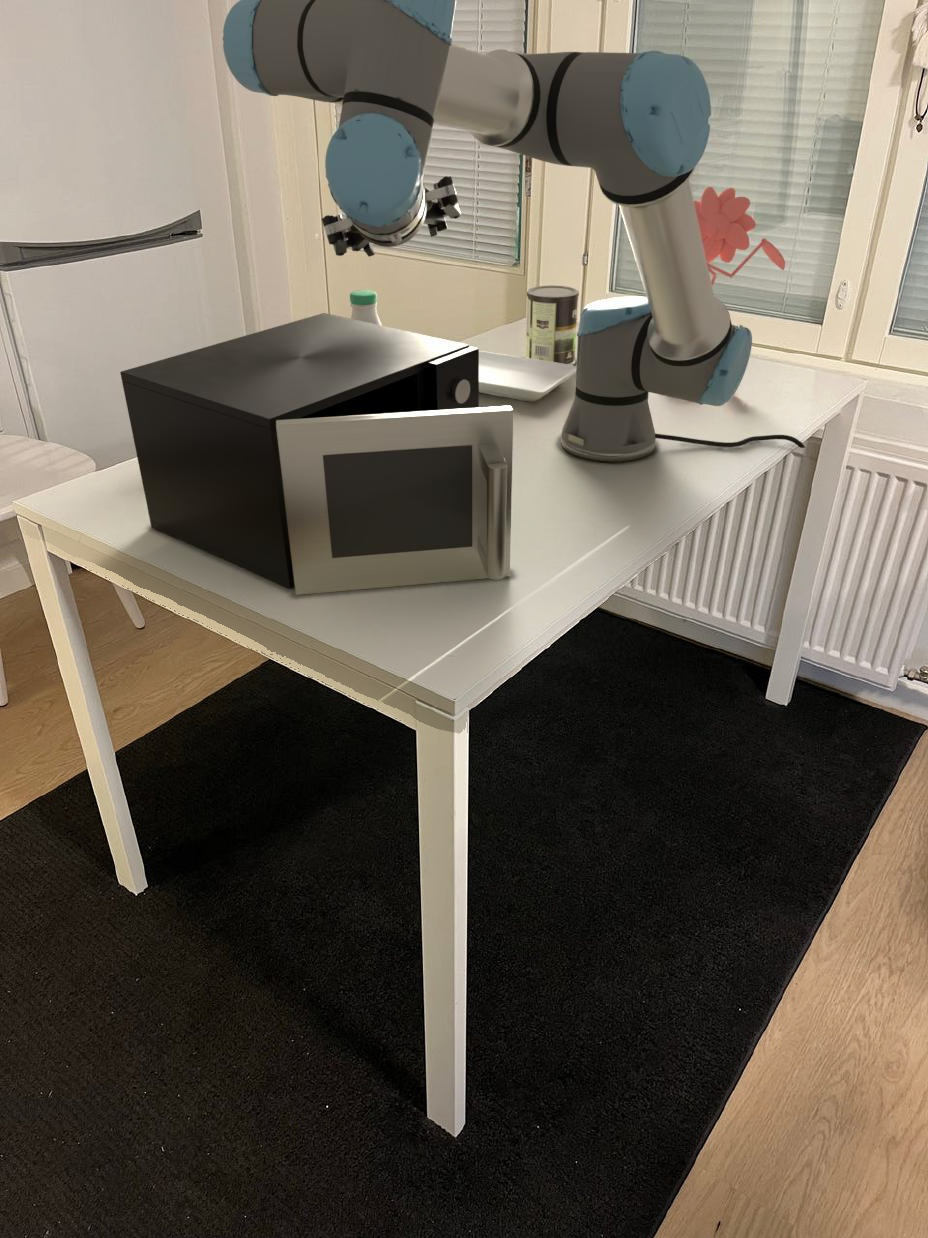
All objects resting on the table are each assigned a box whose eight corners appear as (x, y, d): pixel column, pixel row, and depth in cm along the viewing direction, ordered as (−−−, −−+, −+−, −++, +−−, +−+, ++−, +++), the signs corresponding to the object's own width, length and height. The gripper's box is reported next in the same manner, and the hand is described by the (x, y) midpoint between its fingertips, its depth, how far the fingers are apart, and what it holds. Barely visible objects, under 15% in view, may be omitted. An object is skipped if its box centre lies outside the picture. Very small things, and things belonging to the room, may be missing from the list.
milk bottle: (341, 409, 172) (332, 295, 161) (360, 395, 178) (353, 285, 167) (379, 414, 169) (373, 299, 159) (398, 400, 176) (393, 289, 165)
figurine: (756, 410, 170) (790, 198, 151) (620, 387, 181) (637, 187, 162) (778, 385, 181) (812, 185, 163) (649, 366, 192) (667, 176, 174)
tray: (542, 410, 171) (543, 391, 169) (395, 383, 184) (394, 365, 182) (580, 383, 183) (581, 365, 181) (440, 360, 196) (440, 343, 195)
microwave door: (521, 605, 114) (527, 432, 102) (296, 626, 110) (275, 449, 98) (507, 570, 121) (510, 405, 109) (295, 588, 117) (276, 420, 106)
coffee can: (572, 354, 199) (576, 284, 192) (577, 369, 191) (581, 297, 183) (523, 354, 200) (525, 284, 192) (525, 369, 191) (527, 297, 183)
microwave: (482, 497, 140) (483, 347, 128) (303, 596, 116) (284, 423, 104) (335, 449, 156) (324, 312, 144) (151, 527, 132) (119, 371, 120)
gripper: (297, 272, 90) (328, 292, 112) (499, 207, 88) (490, 240, 111) (270, 190, 88) (307, 226, 110) (476, 122, 87) (472, 173, 109)
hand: (399, 233), depth 110 cm, fingers open, 7 cm apart
